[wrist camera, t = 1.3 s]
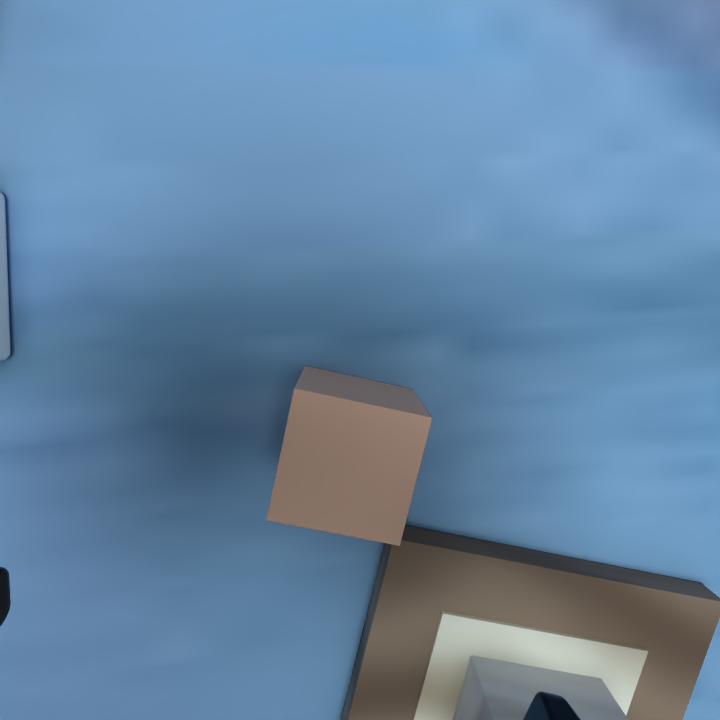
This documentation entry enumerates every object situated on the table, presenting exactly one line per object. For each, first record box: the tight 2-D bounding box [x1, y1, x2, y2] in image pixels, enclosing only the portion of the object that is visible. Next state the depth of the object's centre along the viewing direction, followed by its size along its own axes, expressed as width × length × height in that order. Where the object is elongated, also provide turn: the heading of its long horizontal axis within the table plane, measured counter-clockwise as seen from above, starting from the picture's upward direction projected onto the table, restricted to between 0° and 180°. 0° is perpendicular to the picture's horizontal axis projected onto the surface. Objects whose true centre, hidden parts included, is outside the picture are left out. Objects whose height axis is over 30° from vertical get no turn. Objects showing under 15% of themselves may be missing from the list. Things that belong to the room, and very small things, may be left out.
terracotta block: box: [266, 366, 432, 546], centre depth 20 cm, size 5×5×5 cm
